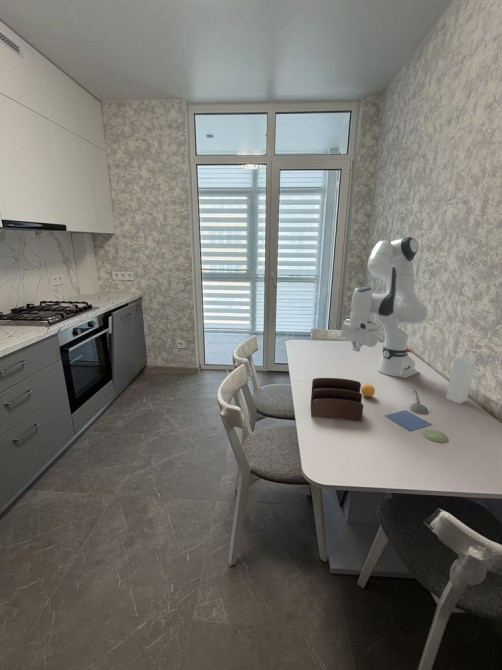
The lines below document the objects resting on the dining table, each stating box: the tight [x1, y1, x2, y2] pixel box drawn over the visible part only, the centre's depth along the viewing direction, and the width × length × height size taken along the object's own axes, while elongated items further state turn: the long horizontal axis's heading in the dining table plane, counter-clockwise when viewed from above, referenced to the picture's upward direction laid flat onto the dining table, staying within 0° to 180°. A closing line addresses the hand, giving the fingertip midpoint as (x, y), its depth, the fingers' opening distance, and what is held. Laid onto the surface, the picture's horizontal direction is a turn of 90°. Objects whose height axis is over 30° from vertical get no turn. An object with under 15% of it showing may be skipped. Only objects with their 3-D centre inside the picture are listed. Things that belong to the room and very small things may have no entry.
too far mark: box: [422, 429, 449, 444], centre depth 113 cm, size 8×8×1 cm
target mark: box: [384, 409, 433, 432], centre depth 124 cm, size 12×12×1 cm
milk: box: [445, 352, 476, 404], centre depth 138 cm, size 6×6×22 cm
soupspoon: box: [410, 390, 429, 416], centre depth 138 cm, size 22×3×7 cm
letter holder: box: [310, 377, 364, 422], centre depth 126 cm, size 10×20×14 cm, turn 81°
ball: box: [360, 383, 376, 398], centre depth 142 cm, size 6×6×6 cm
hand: (356, 350), depth 146 cm, fingers closed
